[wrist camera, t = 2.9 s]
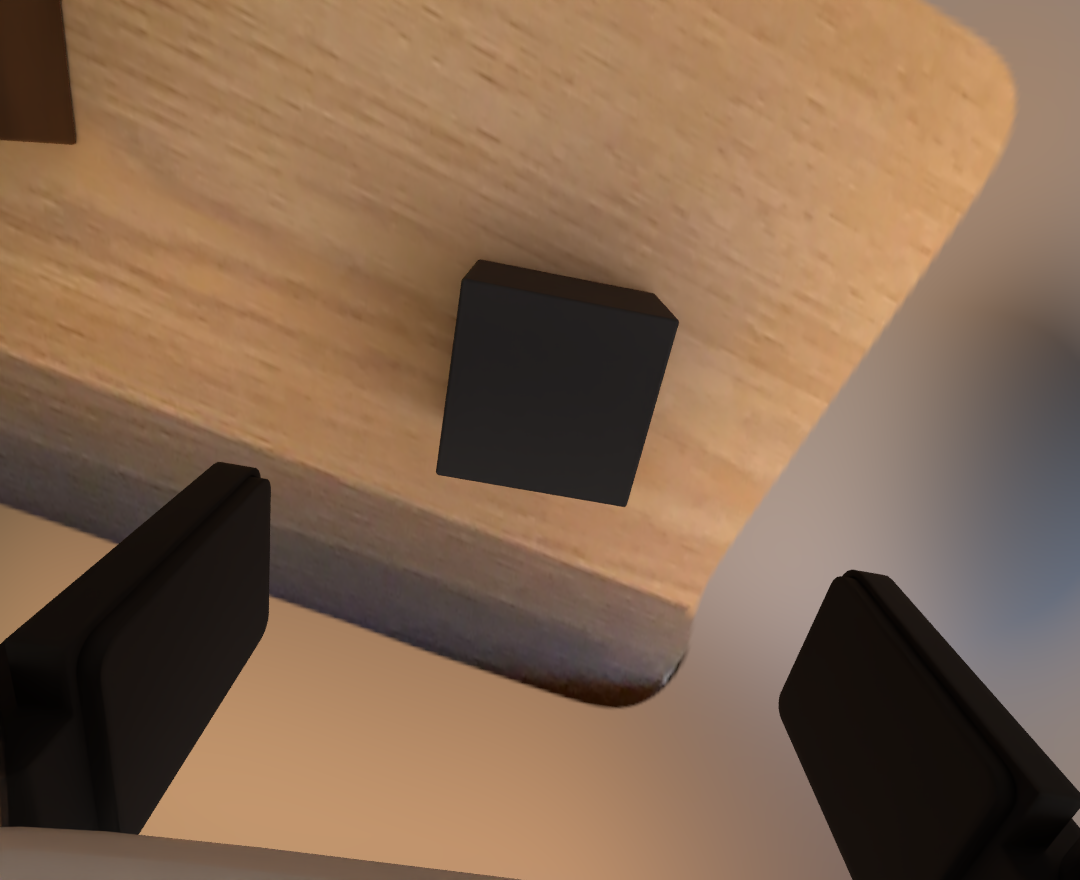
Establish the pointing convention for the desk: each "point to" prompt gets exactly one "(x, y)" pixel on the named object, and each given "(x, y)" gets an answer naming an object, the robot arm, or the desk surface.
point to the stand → (34, 74)
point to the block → (552, 382)
